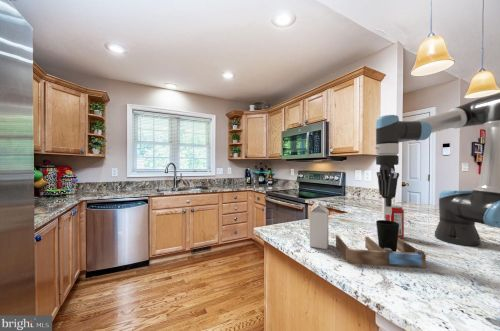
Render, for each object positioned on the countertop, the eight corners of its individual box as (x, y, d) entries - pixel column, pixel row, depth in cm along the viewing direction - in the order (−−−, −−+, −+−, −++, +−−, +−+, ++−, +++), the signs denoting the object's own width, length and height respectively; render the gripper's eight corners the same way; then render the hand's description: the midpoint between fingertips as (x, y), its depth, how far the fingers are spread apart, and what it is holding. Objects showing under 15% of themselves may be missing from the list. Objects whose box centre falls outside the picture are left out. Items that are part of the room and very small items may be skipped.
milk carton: (328, 244, 92) (328, 201, 92) (327, 249, 86) (327, 203, 86) (312, 241, 95) (311, 200, 95) (309, 247, 89) (309, 202, 89)
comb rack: (399, 249, 86) (398, 235, 86) (426, 268, 70) (426, 252, 70) (335, 245, 90) (335, 232, 90) (347, 263, 73) (347, 248, 73)
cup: (403, 257, 78) (403, 225, 78) (381, 255, 80) (380, 224, 80) (393, 249, 86) (393, 220, 86) (373, 248, 87) (373, 219, 87)
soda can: (397, 240, 96) (397, 208, 96) (380, 235, 103) (380, 205, 103) (407, 238, 99) (407, 206, 99) (390, 233, 107) (390, 203, 107)
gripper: (370, 155, 90) (370, 210, 90) (384, 154, 77) (384, 217, 77) (388, 155, 89) (388, 211, 89) (407, 154, 76) (407, 218, 76)
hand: (387, 214), depth 83 cm, fingers closed
